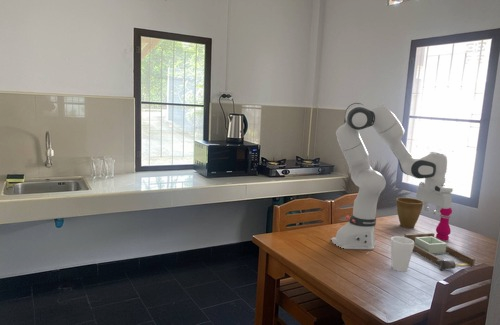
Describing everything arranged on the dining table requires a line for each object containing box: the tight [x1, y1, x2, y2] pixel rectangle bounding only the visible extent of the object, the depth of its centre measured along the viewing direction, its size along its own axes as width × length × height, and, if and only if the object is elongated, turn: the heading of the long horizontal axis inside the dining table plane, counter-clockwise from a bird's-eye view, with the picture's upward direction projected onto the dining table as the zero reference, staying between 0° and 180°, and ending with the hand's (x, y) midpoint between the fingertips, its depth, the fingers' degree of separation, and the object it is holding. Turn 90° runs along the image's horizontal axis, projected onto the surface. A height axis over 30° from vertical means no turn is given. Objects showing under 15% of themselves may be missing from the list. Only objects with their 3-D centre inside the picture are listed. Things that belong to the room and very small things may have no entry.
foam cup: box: [390, 236, 415, 273], centre depth 163 cm, size 10×9×13 cm
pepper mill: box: [435, 207, 453, 241], centre depth 205 cm, size 7×7×20 cm
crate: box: [415, 236, 448, 255], centre depth 186 cm, size 10×10×5 cm
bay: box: [403, 232, 476, 271], centre depth 179 cm, size 22×31×6 cm
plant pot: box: [396, 197, 424, 229], centre depth 225 cm, size 15×15×16 cm
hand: (431, 212), depth 186 cm, fingers open, 5 cm apart
